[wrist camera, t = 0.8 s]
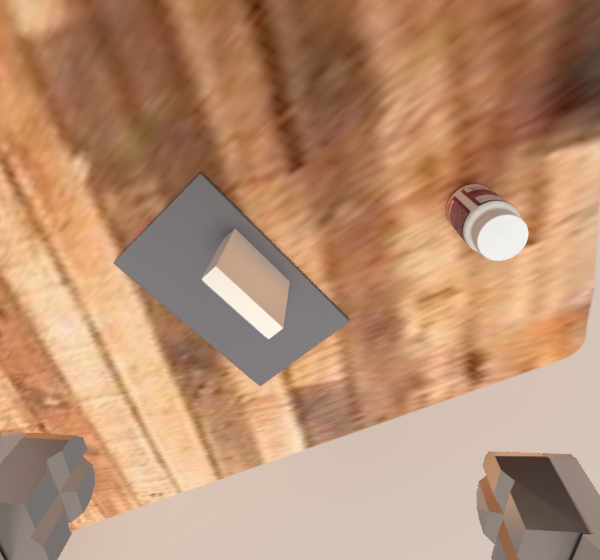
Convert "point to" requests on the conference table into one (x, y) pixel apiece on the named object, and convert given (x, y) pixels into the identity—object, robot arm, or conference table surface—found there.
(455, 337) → the conference table surface
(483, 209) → the pill bottle
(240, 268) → the tile
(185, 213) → the mat
